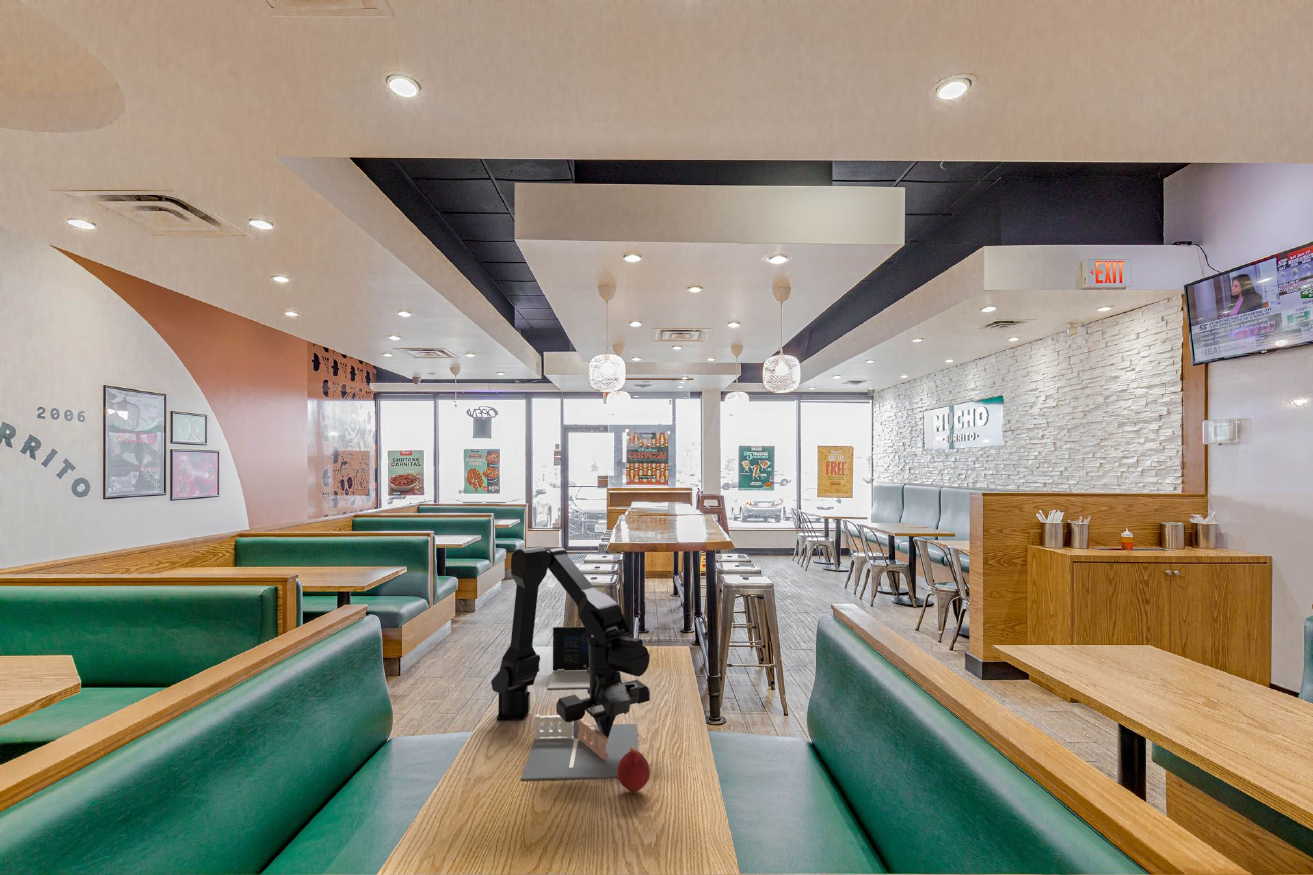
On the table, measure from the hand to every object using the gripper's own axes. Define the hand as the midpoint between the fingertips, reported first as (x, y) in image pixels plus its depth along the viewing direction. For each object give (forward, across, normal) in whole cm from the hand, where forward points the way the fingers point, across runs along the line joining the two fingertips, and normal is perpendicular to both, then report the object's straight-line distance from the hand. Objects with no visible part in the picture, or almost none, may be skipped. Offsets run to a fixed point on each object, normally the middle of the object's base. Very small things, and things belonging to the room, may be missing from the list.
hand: (605, 741), depth 121 cm
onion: (+2, -2, -16) cm, 16 cm away
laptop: (+3, +12, +40) cm, 41 cm away
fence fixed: (+2, -7, +11) cm, 13 cm away
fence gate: (+2, -2, +3) cm, 4 cm away
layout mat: (+2, -3, +3) cm, 5 cm away
